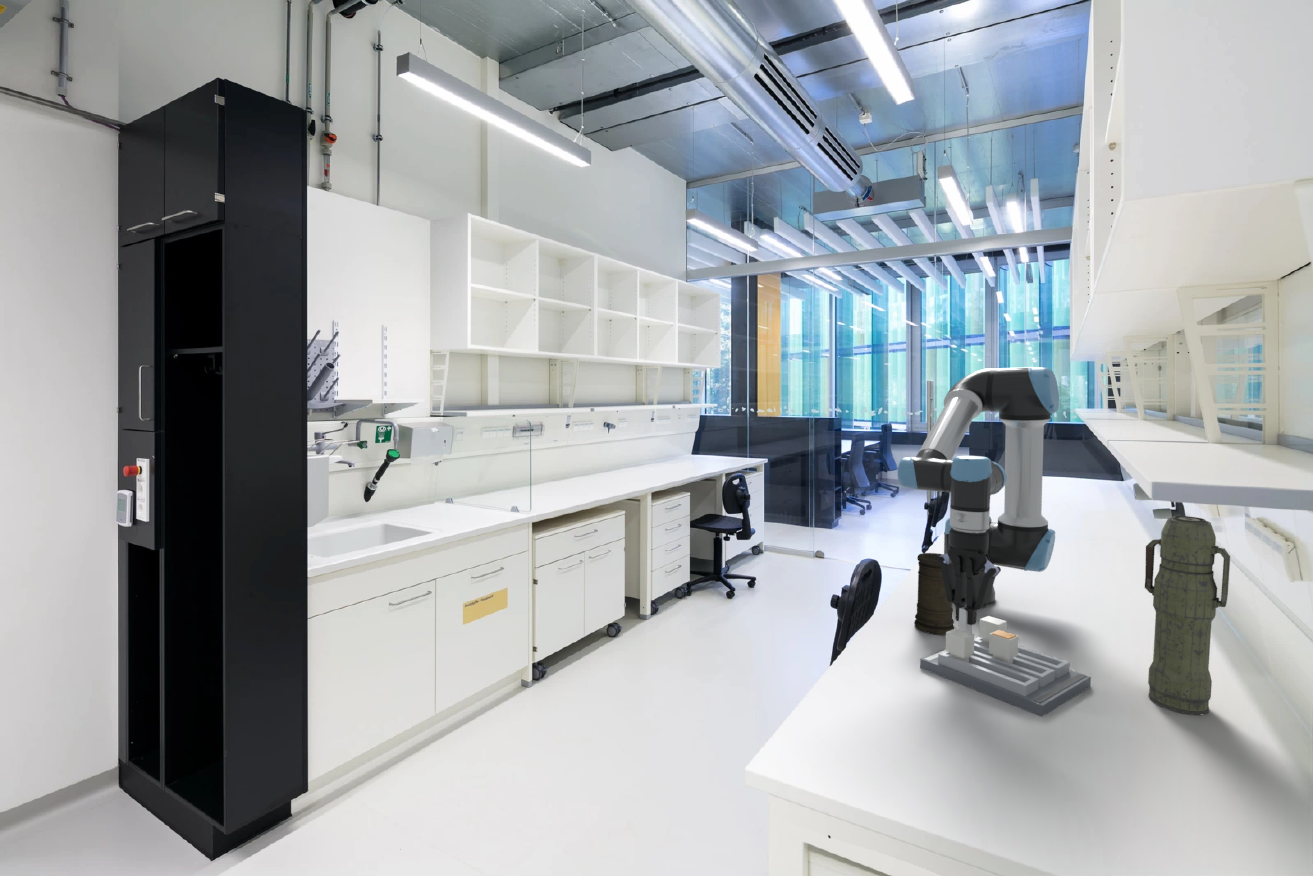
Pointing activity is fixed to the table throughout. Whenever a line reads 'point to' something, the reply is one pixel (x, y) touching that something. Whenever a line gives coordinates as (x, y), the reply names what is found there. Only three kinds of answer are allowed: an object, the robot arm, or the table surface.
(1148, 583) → the thermos
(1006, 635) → the handle
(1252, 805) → the table surface
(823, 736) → the table surface
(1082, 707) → the table surface
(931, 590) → the container
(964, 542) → the robot arm
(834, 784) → the table surface
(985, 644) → the panel
